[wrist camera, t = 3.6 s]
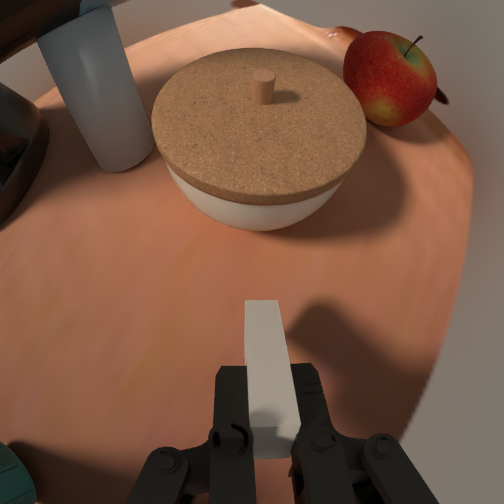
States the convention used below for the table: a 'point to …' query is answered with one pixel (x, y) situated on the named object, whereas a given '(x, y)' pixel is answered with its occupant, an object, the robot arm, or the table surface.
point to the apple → (389, 77)
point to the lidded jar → (258, 136)
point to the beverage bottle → (14, 479)
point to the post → (99, 88)
